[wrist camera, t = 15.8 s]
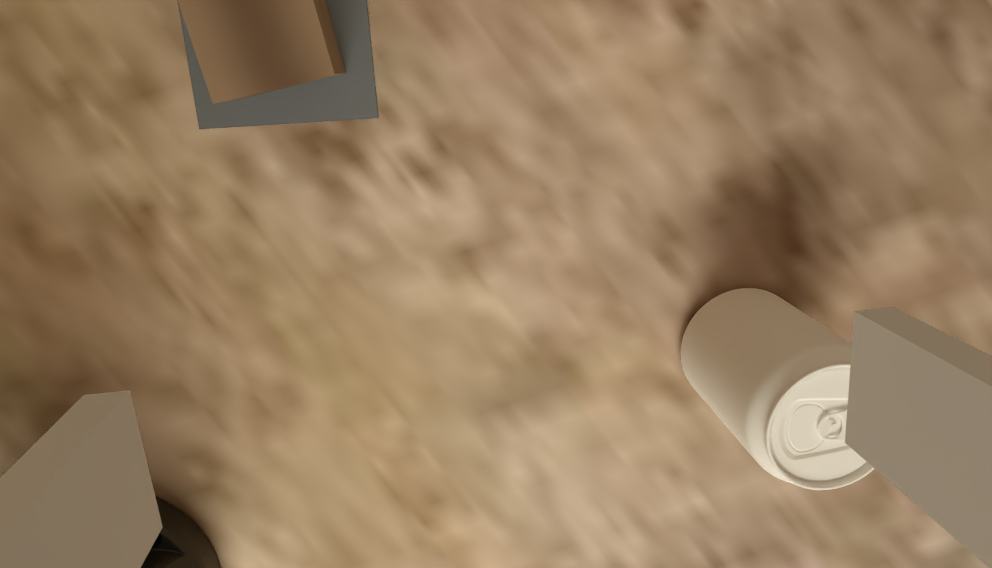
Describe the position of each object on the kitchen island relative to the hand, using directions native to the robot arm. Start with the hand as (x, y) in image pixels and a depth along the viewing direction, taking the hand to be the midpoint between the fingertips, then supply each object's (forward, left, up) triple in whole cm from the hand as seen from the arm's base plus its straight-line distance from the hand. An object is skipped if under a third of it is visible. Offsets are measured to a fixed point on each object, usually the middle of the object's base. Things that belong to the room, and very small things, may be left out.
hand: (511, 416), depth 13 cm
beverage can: (+18, -13, -32) cm, 39 cm away
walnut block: (-9, +8, -31) cm, 34 cm away
